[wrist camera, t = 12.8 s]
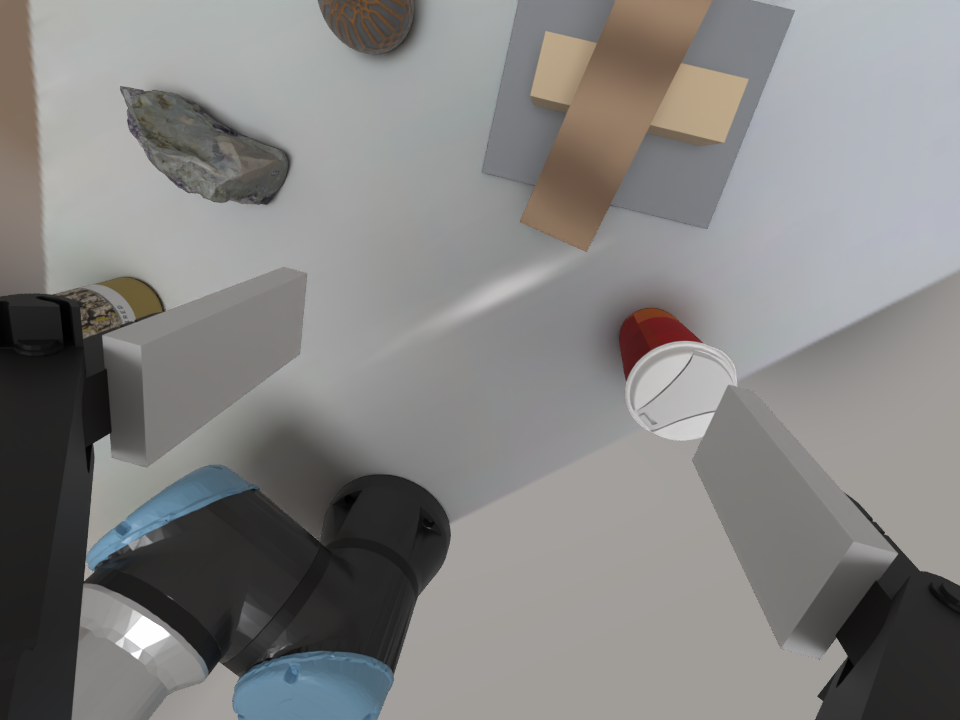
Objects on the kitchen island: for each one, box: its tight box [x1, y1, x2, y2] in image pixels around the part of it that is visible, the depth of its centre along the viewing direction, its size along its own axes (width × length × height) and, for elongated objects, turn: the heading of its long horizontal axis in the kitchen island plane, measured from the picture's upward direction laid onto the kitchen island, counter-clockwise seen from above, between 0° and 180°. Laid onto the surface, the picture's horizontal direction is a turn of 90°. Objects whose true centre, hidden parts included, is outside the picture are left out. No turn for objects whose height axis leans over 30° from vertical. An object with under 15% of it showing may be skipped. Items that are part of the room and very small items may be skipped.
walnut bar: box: [520, 0, 713, 252], centre depth 32 cm, size 22×5×5 cm, turn 157°
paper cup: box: [619, 308, 737, 441], centre depth 41 cm, size 8×8×14 cm
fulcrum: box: [482, 0, 795, 229], centre depth 37 cm, size 16×20×7 cm
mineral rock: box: [120, 86, 288, 205], centre depth 42 cm, size 13×11×10 cm
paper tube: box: [53, 277, 163, 339], centre depth 42 cm, size 7×7×25 cm
